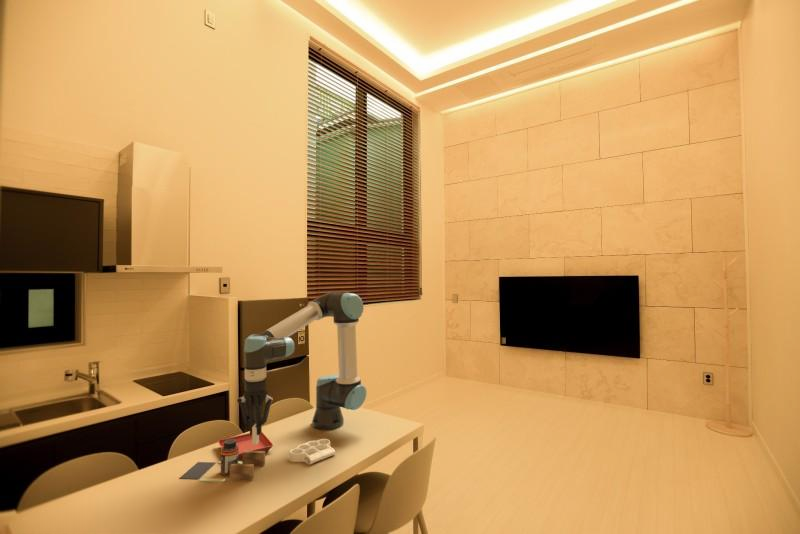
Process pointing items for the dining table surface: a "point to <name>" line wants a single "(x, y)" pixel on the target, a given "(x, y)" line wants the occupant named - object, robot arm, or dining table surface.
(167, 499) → the dining table surface
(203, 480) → the strips
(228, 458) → the supplement bottle
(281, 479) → the dining table surface
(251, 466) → the tunnel
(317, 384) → the robot arm
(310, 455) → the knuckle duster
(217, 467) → the dining table surface
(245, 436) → the plant saucer
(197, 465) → the mat
